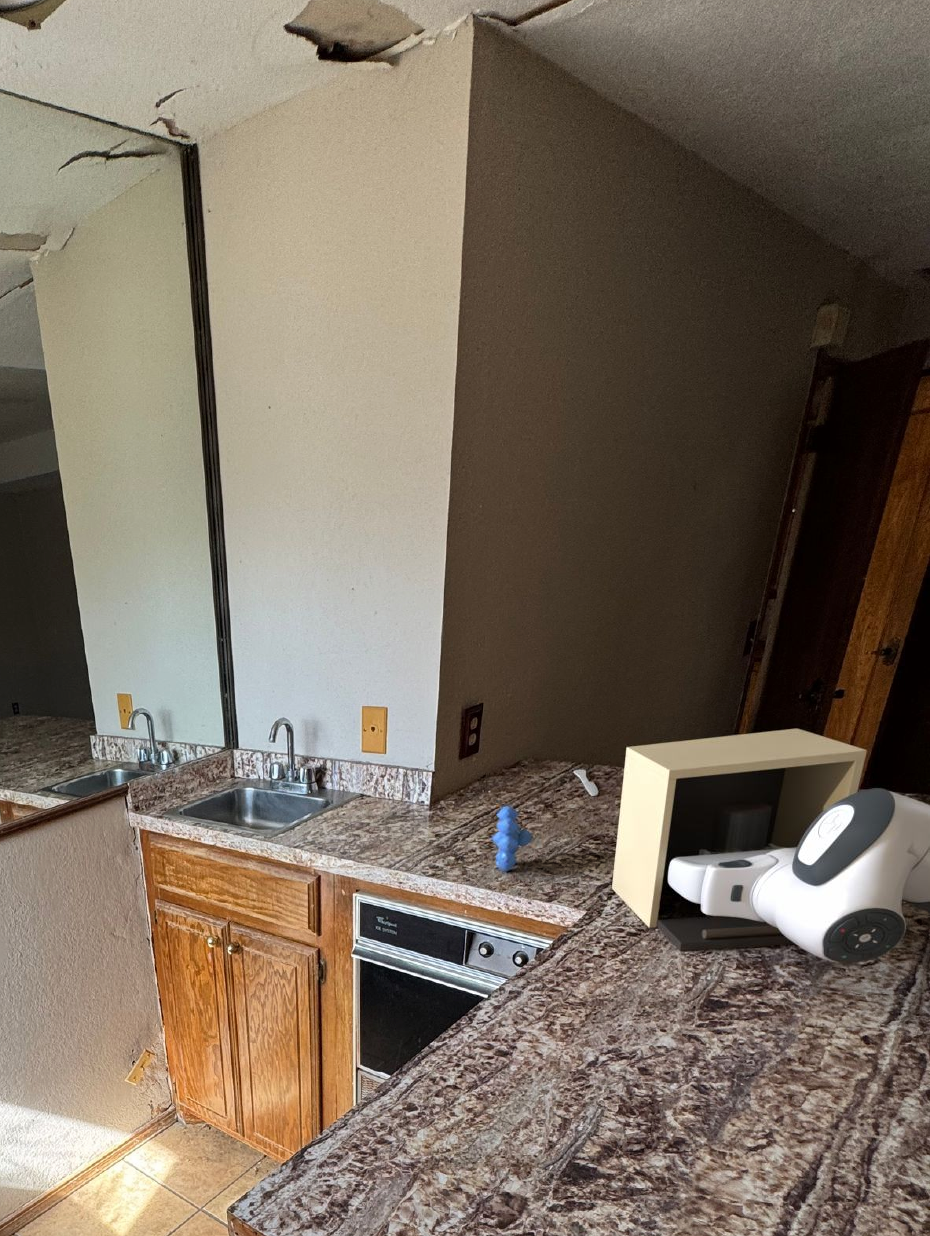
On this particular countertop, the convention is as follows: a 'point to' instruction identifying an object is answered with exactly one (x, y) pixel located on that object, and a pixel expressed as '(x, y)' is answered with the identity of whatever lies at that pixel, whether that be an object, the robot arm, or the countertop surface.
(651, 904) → the cream cabinet
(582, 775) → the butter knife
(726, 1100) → the countertop surface
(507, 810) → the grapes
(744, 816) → the deodorant
